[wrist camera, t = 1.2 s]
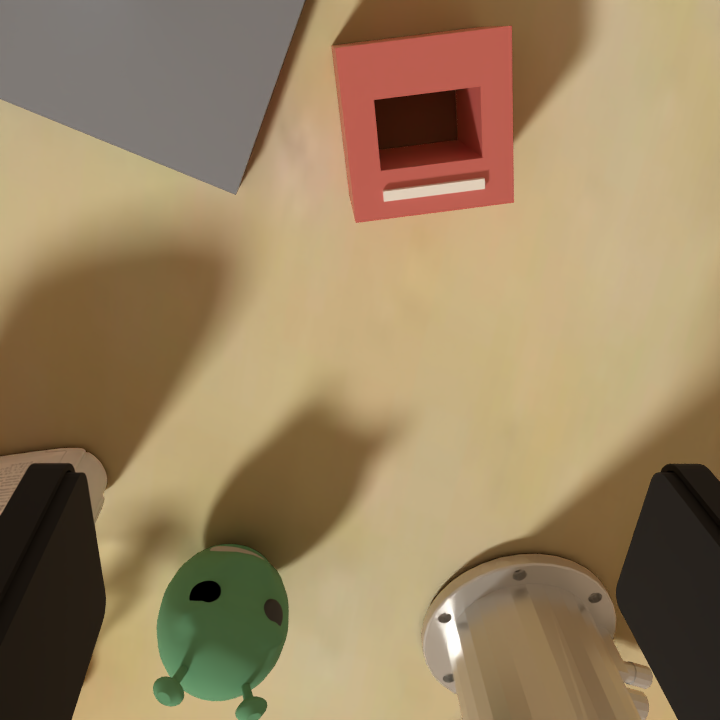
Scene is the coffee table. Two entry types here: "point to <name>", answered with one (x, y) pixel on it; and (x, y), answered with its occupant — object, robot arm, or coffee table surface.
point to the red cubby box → (432, 160)
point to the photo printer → (8, 470)
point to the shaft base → (152, 74)
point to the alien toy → (221, 628)
